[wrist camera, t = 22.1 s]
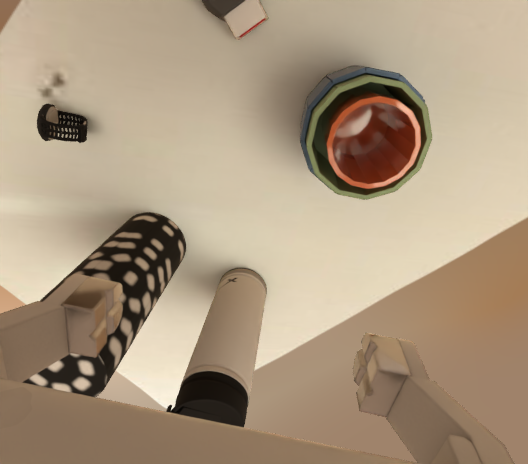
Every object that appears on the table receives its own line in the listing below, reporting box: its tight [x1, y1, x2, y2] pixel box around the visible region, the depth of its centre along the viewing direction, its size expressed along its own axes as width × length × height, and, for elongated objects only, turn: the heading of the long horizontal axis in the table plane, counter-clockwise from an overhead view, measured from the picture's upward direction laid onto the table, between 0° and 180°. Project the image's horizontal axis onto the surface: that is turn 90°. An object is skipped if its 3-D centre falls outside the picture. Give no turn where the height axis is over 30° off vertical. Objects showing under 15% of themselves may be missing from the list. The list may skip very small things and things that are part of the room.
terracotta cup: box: [321, 87, 421, 189], centre depth 30 cm, size 6×6×10 cm
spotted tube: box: [22, 213, 186, 397], centre depth 36 cm, size 8×8×20 cm
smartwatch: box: [37, 104, 87, 143], centre depth 37 cm, size 4×5×5 cm
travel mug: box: [167, 268, 267, 427], centre depth 37 cm, size 6×7×20 cm
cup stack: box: [300, 66, 432, 200], centre depth 31 cm, size 10×10×10 cm
